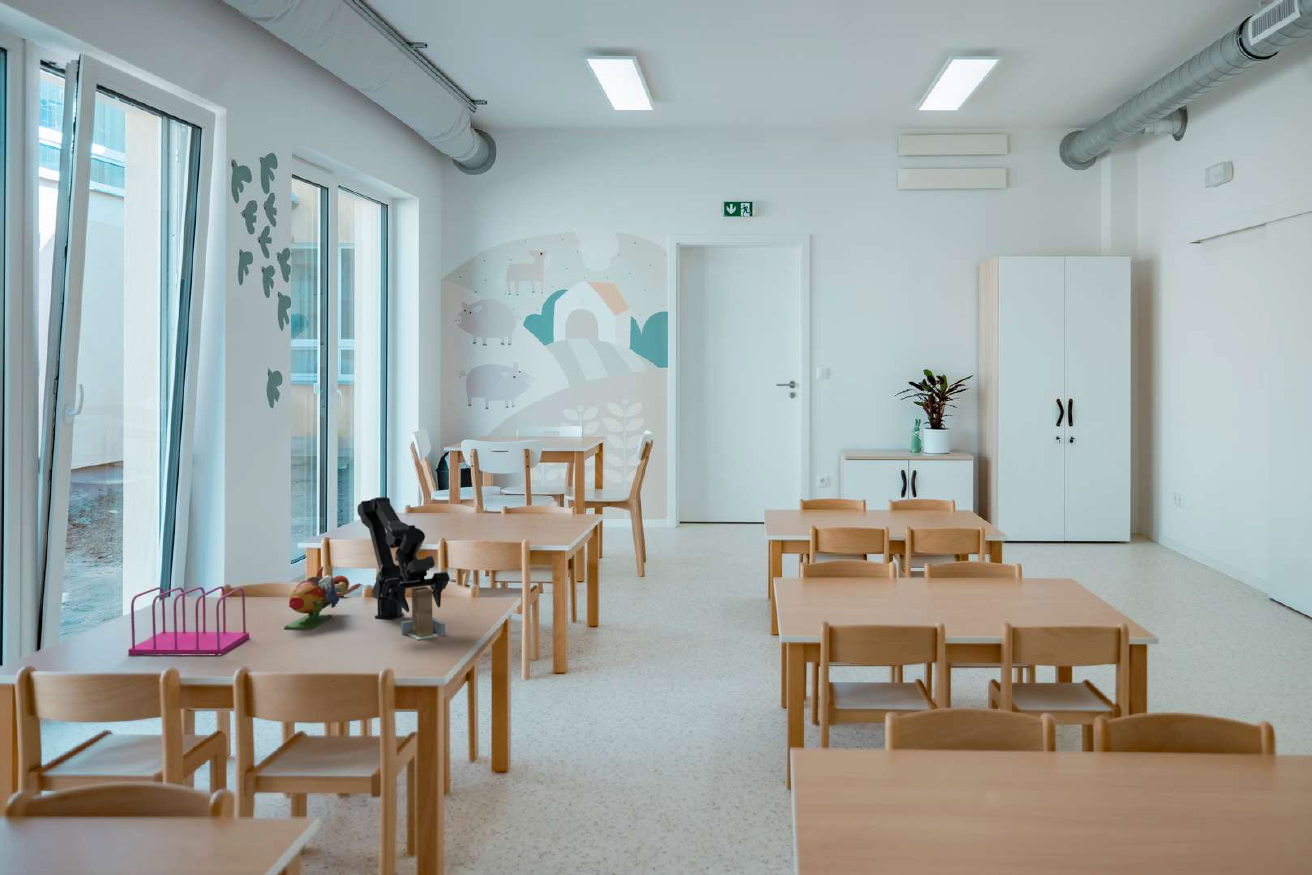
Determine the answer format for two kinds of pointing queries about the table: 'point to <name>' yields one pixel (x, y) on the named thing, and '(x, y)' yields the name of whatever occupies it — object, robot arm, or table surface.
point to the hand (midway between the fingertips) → (424, 608)
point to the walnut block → (422, 611)
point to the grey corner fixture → (437, 628)
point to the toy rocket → (313, 600)
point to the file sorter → (188, 640)
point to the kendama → (341, 583)
